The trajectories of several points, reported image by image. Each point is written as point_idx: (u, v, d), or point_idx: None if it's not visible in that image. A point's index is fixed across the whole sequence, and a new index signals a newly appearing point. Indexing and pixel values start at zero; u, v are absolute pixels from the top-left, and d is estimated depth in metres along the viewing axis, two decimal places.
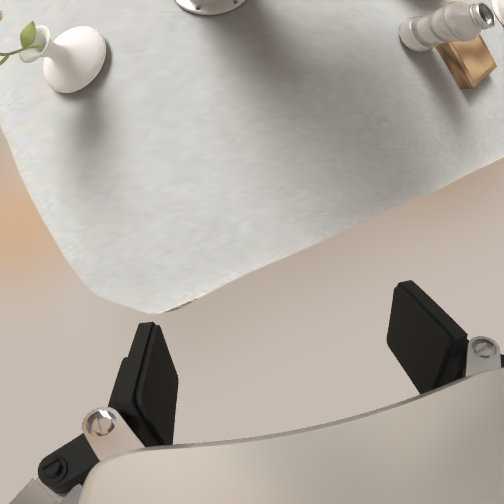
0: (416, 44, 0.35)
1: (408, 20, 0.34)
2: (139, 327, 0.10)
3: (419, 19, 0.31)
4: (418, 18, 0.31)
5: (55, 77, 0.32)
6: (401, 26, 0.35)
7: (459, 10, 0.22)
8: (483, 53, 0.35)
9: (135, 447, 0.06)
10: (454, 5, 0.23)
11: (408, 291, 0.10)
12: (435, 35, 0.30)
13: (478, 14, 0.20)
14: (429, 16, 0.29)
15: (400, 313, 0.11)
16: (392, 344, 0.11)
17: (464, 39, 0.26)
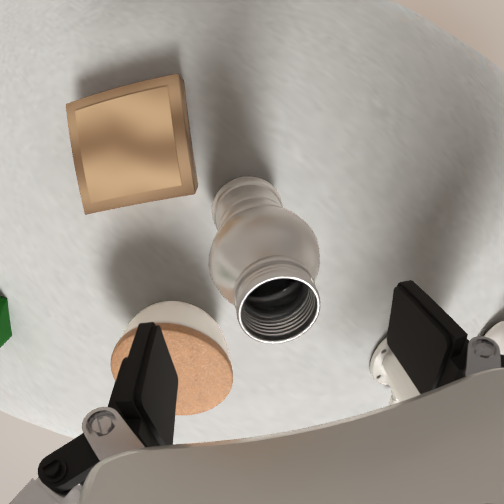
0: (279, 198, 0.28)
1: None
2: (139, 327, 0.10)
3: None
4: None
5: None
6: None
7: None
8: (93, 136, 0.24)
9: (135, 447, 0.06)
10: (283, 306, 0.18)
11: (408, 291, 0.10)
12: None
13: None
14: None
15: (400, 313, 0.11)
16: (392, 344, 0.11)
17: (299, 219, 0.17)
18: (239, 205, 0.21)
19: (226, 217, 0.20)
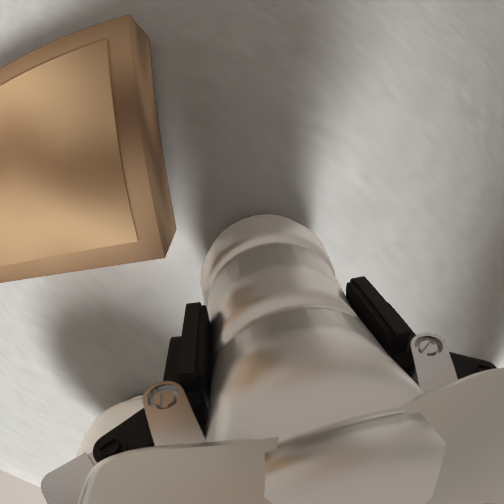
0: (331, 263, 0.14)
1: None
2: (187, 307, 0.11)
3: None
4: None
5: None
6: None
7: None
8: None
9: (190, 426, 0.06)
10: None
11: (358, 287, 0.11)
12: None
13: None
14: None
15: (352, 308, 0.11)
16: None
17: None
18: (266, 346, 0.07)
19: (231, 390, 0.07)
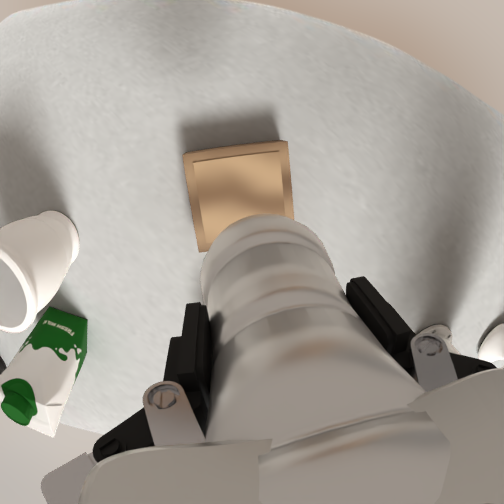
0: (331, 262, 0.14)
1: None
2: (187, 307, 0.11)
3: None
4: None
5: None
6: None
7: None
8: (212, 188, 0.32)
9: (190, 426, 0.06)
10: None
11: (358, 287, 0.11)
12: None
13: None
14: None
15: None
16: None
17: None
18: (266, 345, 0.07)
19: (231, 390, 0.07)
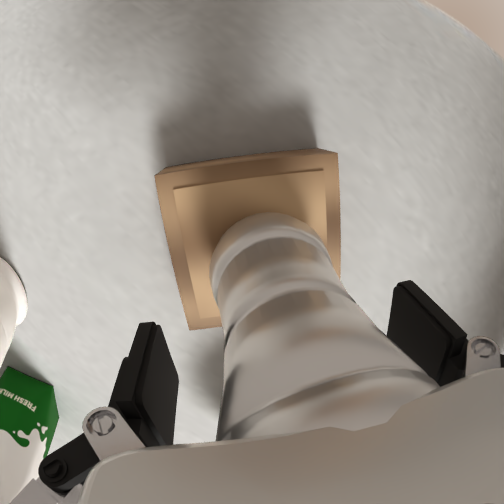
0: (329, 256, 0.15)
1: None
2: (139, 327, 0.10)
3: None
4: None
5: None
6: None
7: None
8: (207, 233, 0.19)
9: (135, 447, 0.06)
10: None
11: (408, 291, 0.10)
12: None
13: None
14: None
15: (400, 313, 0.11)
16: None
17: None
18: (275, 321, 0.09)
19: (246, 359, 0.08)
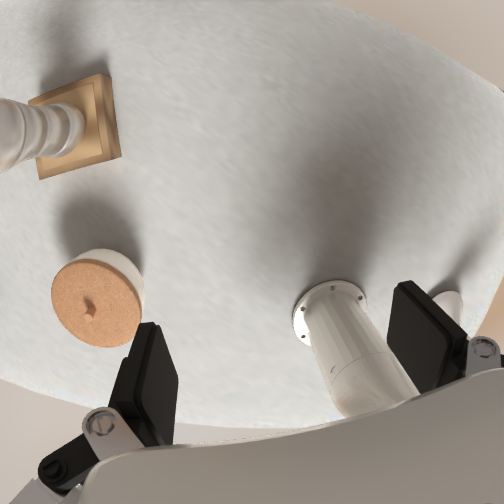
0: (72, 113, 0.26)
1: (62, 153, 0.28)
2: (139, 327, 0.10)
3: (49, 151, 0.25)
4: (50, 153, 0.25)
5: (461, 314, 0.48)
6: (75, 146, 0.29)
7: None
8: None
9: (135, 447, 0.06)
10: None
11: (408, 291, 0.10)
12: (45, 118, 0.21)
13: None
14: (37, 152, 0.22)
15: (400, 313, 0.11)
16: (392, 344, 0.11)
17: (8, 101, 0.16)
18: None
19: None
